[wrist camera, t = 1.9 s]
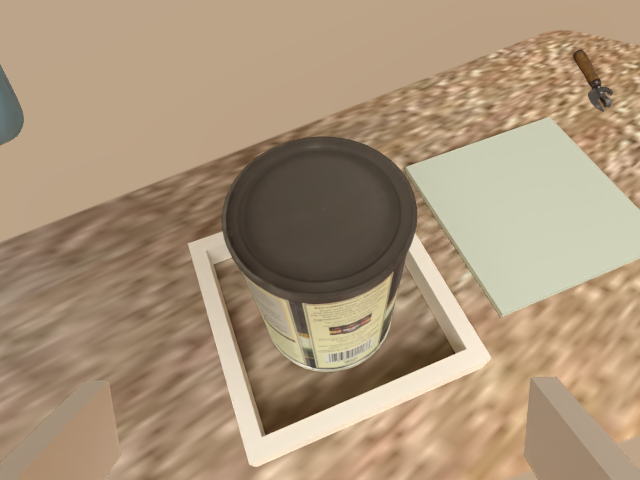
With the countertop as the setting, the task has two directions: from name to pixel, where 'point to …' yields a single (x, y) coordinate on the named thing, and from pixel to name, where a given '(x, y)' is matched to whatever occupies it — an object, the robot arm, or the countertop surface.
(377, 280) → the coffee can
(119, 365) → the countertop surface
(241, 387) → the holder frame
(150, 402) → the countertop surface
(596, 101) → the can opener
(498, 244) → the mat
